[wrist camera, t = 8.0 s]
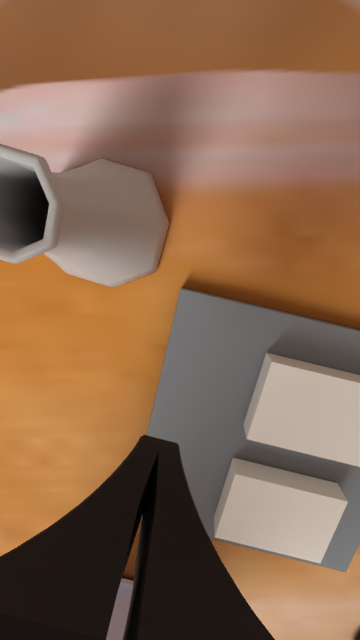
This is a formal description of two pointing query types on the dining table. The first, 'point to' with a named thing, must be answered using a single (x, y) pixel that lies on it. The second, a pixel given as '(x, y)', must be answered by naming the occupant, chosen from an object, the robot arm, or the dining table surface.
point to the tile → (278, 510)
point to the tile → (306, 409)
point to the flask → (81, 217)
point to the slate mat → (245, 400)
